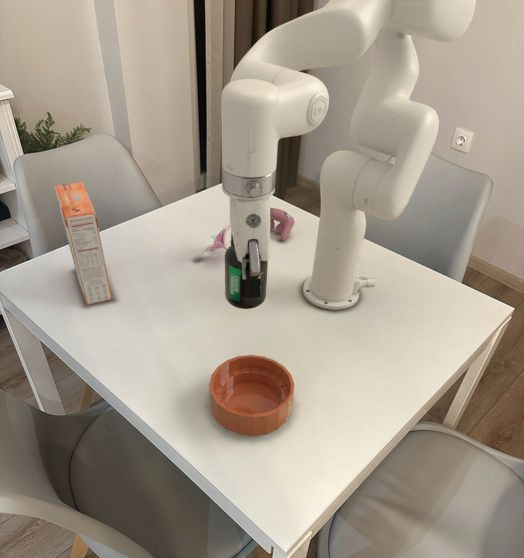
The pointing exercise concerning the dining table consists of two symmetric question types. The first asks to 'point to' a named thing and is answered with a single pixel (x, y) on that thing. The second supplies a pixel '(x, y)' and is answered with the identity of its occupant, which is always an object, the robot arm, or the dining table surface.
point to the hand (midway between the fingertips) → (246, 282)
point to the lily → (218, 240)
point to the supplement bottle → (233, 280)
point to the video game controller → (281, 222)
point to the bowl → (251, 395)
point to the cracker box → (84, 241)
